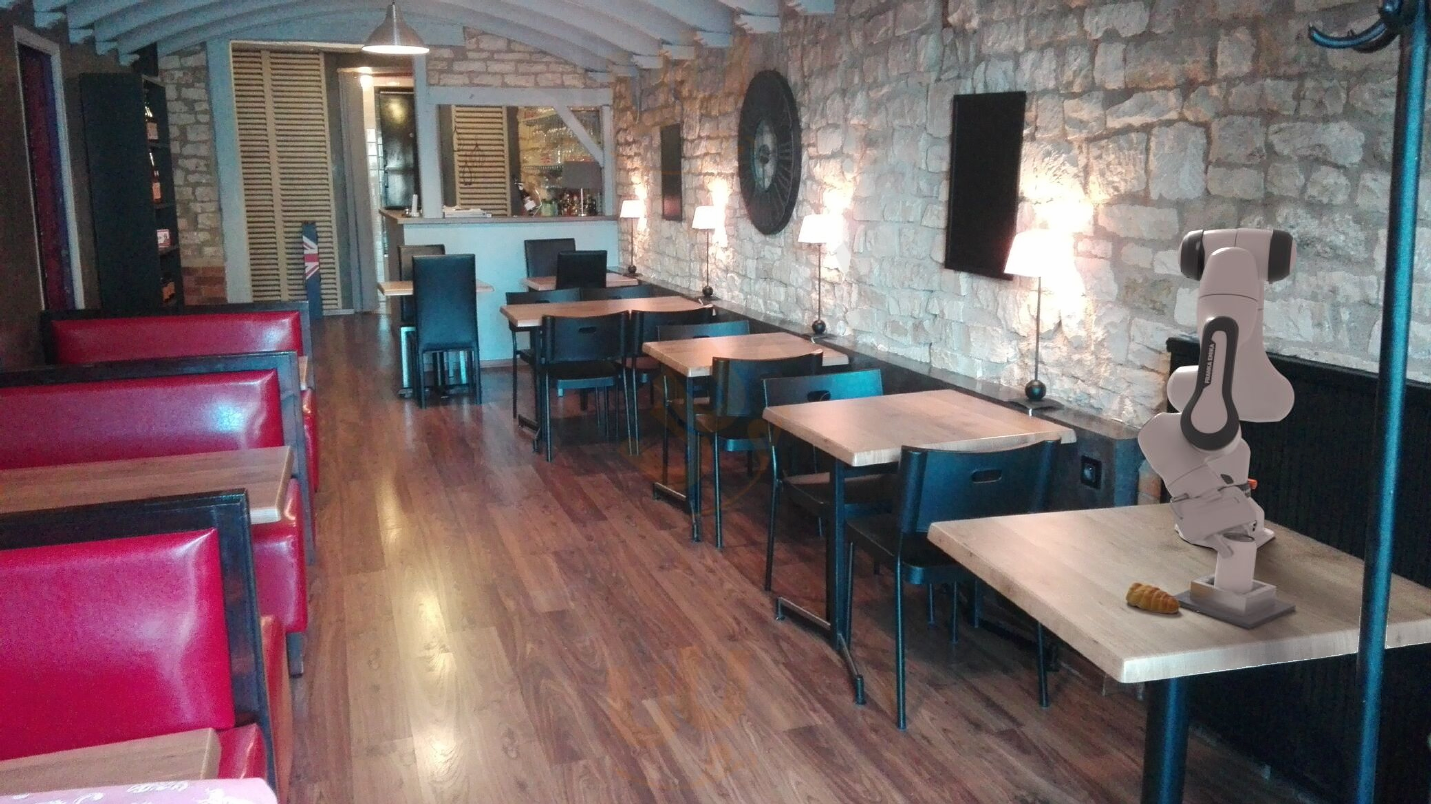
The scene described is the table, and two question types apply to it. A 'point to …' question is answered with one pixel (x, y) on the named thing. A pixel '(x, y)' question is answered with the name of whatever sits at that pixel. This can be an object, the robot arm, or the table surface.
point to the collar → (1234, 602)
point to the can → (1236, 564)
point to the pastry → (1151, 599)
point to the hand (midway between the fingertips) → (1240, 552)
